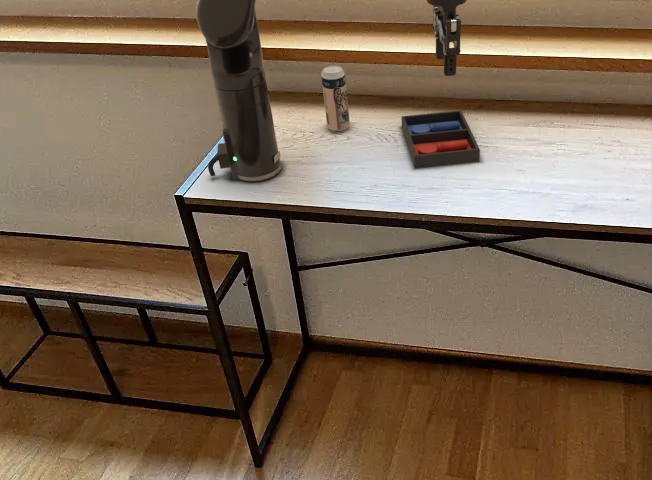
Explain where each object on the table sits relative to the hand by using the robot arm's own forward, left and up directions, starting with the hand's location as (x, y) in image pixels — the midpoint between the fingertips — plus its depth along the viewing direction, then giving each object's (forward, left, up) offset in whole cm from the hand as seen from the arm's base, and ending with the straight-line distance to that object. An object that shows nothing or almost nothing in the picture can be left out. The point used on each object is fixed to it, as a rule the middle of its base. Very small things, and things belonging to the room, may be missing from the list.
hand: (445, 66), depth 135 cm
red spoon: (-2, -9, -13) cm, 16 cm away
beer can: (-21, +7, -14) cm, 26 cm away
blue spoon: (-2, 0, -13) cm, 13 cm away
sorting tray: (-2, -5, -13) cm, 14 cm away
